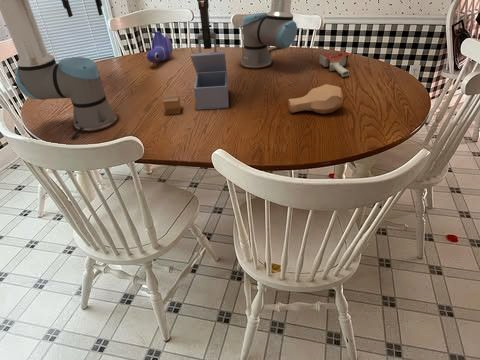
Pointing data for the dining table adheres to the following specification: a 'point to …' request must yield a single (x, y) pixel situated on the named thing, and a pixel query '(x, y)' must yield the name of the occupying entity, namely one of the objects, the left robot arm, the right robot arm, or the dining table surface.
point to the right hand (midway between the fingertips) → (207, 47)
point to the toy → (159, 48)
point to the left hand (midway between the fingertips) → (85, 15)
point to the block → (172, 104)
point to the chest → (211, 90)
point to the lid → (208, 58)
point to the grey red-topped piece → (335, 62)
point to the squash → (319, 100)
